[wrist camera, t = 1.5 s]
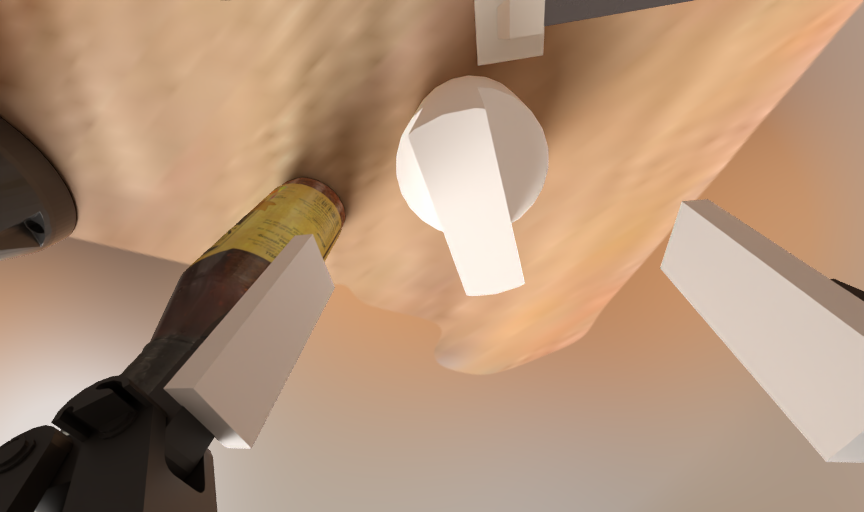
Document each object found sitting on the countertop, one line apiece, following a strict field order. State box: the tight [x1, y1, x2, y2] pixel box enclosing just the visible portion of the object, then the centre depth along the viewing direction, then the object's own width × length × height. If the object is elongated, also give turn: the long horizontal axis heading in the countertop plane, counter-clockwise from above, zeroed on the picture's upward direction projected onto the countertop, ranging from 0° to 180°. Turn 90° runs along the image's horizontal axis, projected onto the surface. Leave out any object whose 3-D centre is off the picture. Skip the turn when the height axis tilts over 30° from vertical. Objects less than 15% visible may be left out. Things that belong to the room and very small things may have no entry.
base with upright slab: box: [396, 75, 548, 296], centre depth 19 cm, size 9×9×12 cm
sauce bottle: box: [61, 178, 345, 435], centre depth 20 cm, size 6×6×20 cm
